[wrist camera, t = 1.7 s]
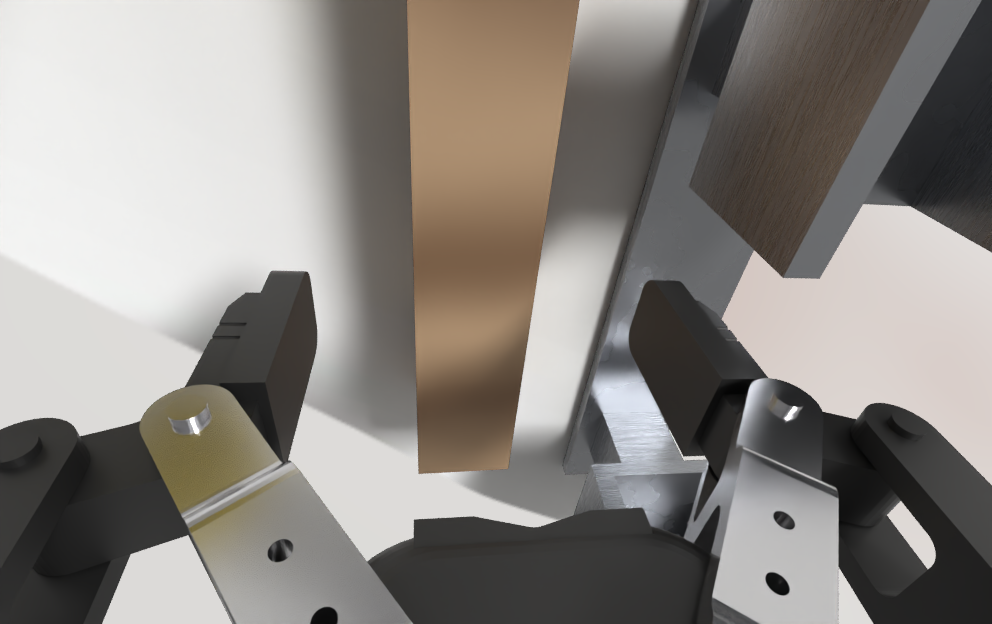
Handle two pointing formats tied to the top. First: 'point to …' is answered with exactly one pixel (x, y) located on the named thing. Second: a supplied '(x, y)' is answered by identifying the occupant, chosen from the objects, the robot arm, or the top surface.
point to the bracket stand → (782, 186)
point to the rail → (479, 210)
